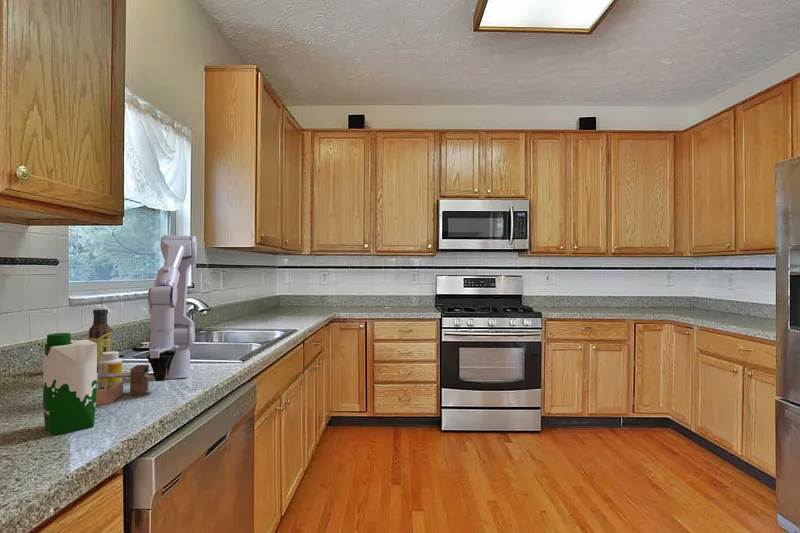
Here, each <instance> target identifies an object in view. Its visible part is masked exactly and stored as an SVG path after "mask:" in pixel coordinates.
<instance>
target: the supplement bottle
mask: <svg viewBox="0 0 800 533" xmlns="http://www.w3.org/2000/svg"><path fill="white" fill-rule="evenodd" d="M119 354H120V353H119V351H112V350H111V351H110V352H104V353H102V360H100V361H99V362H98V371H97V375H98V374H99V373H123V360H122V358H120V355H119ZM118 382H123V378H107V379H98V378H97V390H108V389H109V388H111V387H112V386H113V385H115V384H116V383H118Z"/></svg>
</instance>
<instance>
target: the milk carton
mask: <svg viewBox="0 0 800 533" xmlns="http://www.w3.org/2000/svg"><path fill="white" fill-rule="evenodd" d="M71 335H72V334H71V333H70V332H58V333H57V332H56V333H48V334H46V342H44V343H43V371H42V372H43V376H42V377H43V379H42V380H43V381H42V384H43V387H42V393H43V394H42V410H43V420H44V427H45V428H46V430H47V431H48V432H49V433H50V434H51V435H52V436H57V435H62V434H66V433H72V432H76V431H80V430H81V431H82V430H85V429H91V428H94V427H95V426H94V425H95V417H96V408H97V404H96V390H98V371H97V343H94V342H92V341H89V340H88V339H77V340H74V339H72V338H71V337H72V336H71Z"/></svg>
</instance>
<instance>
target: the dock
mask: <svg viewBox="0 0 800 533" xmlns="http://www.w3.org/2000/svg"><path fill="white" fill-rule="evenodd" d="M123 394H124V381H122V382H118V383H116V384H115V385H113V386H112V387H111V388H109V389H108V390H99V389H97V390H96V405H110V404H112V403H113V402H115V401H116V400H117V399H119V397H121V396H122V395H123Z"/></svg>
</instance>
